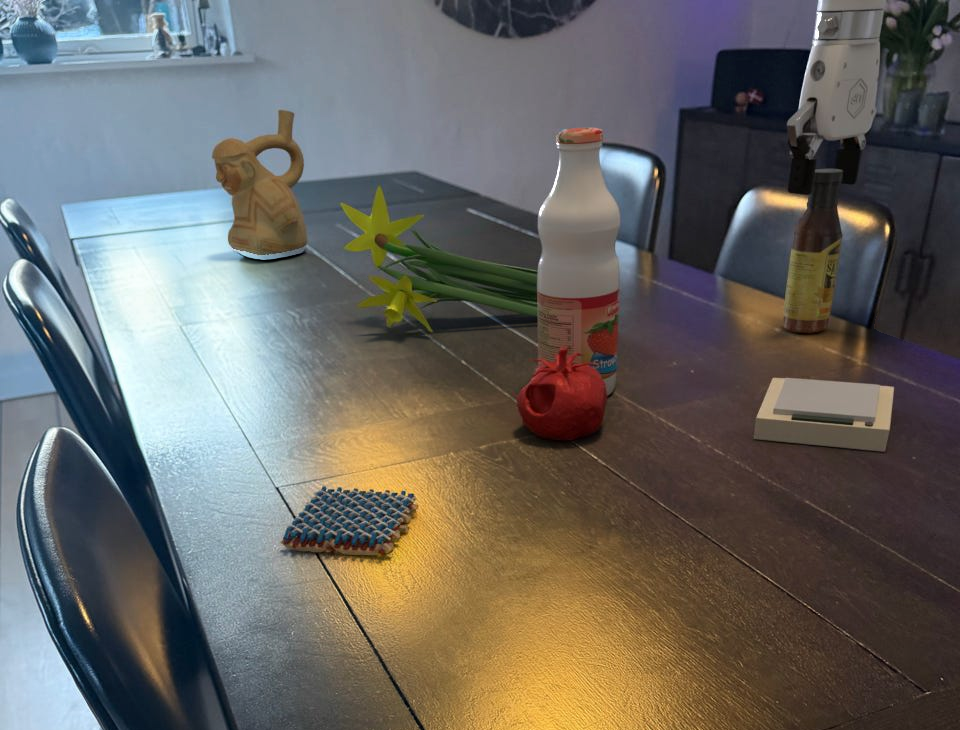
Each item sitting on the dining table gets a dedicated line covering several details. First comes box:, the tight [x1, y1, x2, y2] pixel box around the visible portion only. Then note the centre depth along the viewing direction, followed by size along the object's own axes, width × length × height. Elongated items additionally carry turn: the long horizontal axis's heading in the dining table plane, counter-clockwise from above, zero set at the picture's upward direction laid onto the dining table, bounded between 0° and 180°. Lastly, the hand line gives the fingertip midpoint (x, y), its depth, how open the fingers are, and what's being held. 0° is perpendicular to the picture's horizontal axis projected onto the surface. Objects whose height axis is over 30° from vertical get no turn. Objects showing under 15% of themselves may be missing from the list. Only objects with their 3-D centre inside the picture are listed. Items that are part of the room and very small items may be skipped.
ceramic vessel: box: [211, 109, 308, 255], centre depth 180 cm, size 17×20×25 cm
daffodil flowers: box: [339, 185, 538, 333], centre depth 135 cm, size 17×15×35 cm
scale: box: [753, 377, 895, 453], centre depth 100 cm, size 13×13×3 cm
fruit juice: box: [536, 127, 621, 397], centre depth 105 cm, size 9×9×28 cm
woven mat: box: [280, 486, 419, 556], centre depth 85 cm, size 10×11×2 cm
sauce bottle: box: [782, 168, 843, 334], centre depth 124 cm, size 6×6×20 cm
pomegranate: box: [516, 346, 608, 441], centre depth 100 cm, size 10×10×9 cm
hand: (822, 188), depth 119 cm, fingers open, 9 cm apart
